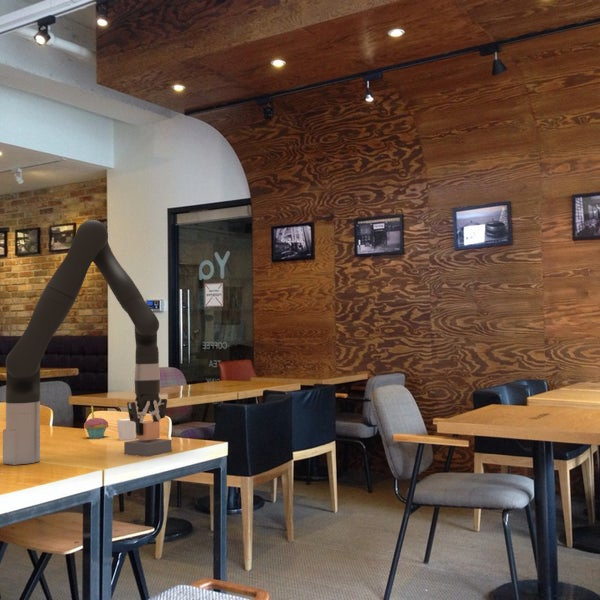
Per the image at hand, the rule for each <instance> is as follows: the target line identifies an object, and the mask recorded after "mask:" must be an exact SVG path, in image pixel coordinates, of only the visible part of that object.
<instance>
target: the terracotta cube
mask: <svg viewBox="0 0 600 600" xmlns="http://www.w3.org/2000/svg"><path fill="white" fill-rule="evenodd" d="M142 423H143V435H142V436H139V435H137V434H136V439H135V440H151V439H161V438H160V434H161V433H160V421H159V422H158V421H153V420H145V421H144V420H143V422H142Z"/></svg>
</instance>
